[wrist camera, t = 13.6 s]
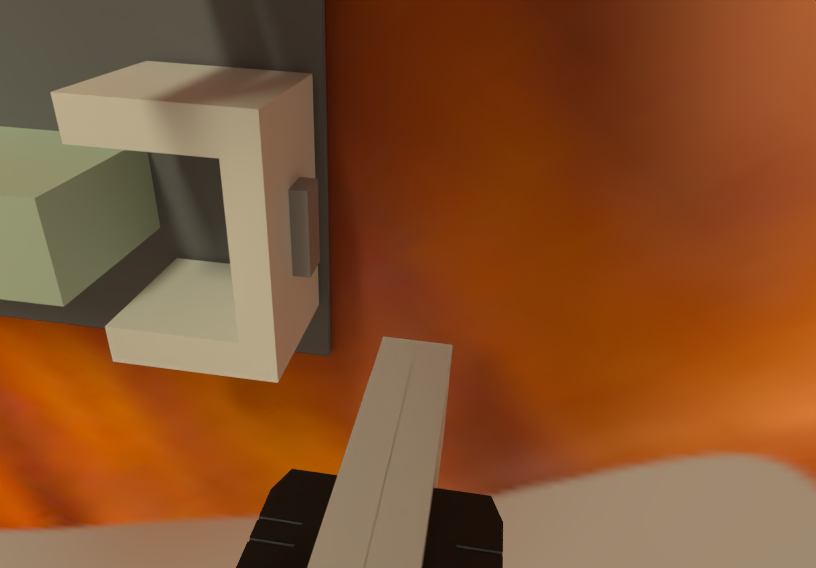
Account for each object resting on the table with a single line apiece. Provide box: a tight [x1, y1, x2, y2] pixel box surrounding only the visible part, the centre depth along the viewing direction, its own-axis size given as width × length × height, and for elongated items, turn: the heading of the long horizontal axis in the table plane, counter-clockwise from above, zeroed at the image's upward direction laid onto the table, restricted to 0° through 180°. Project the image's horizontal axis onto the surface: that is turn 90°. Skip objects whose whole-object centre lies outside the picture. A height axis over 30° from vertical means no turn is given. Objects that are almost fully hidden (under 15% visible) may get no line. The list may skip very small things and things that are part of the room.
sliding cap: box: [50, 61, 320, 383], centre depth 20 cm, size 9×6×5 cm
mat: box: [0, 0, 331, 356], centre depth 24 cm, size 14×24×1 cm, turn 87°
